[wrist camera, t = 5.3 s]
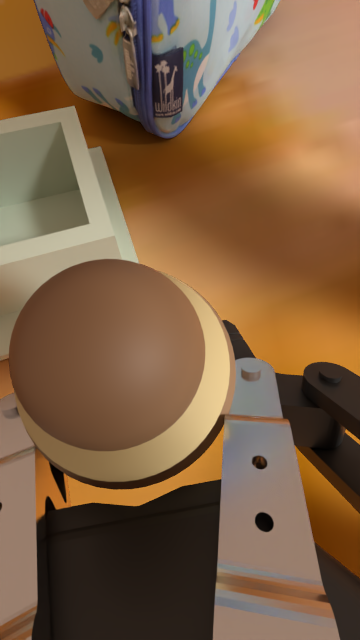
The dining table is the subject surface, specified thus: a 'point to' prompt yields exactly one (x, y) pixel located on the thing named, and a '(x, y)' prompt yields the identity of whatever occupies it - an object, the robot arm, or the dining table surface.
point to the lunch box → (149, 52)
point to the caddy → (52, 208)
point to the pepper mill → (120, 373)
